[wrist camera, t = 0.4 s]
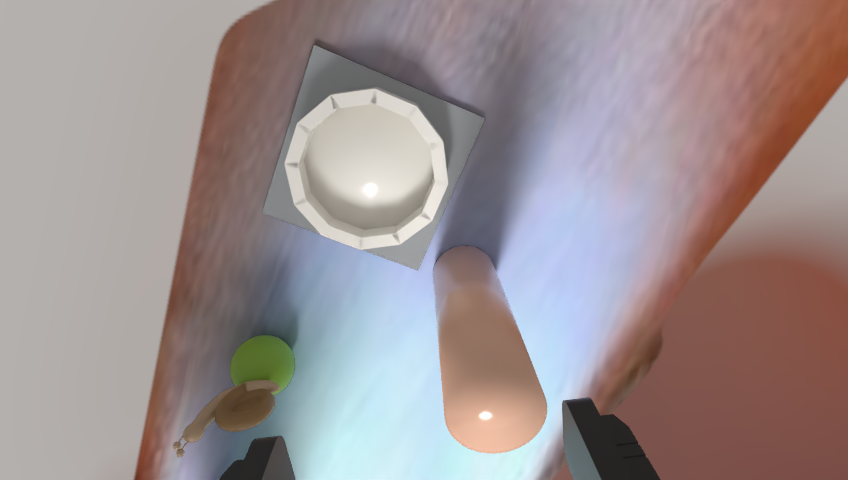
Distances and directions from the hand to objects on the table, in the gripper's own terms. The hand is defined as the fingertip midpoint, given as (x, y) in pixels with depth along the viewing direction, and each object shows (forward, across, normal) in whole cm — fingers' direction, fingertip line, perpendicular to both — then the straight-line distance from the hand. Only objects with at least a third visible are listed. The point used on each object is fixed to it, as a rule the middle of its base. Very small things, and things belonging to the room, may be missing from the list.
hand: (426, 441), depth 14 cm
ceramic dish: (+28, -4, +3) cm, 28 cm away
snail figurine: (+28, -16, -13) cm, 35 cm away
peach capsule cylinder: (+28, +3, -8) cm, 29 cm away
